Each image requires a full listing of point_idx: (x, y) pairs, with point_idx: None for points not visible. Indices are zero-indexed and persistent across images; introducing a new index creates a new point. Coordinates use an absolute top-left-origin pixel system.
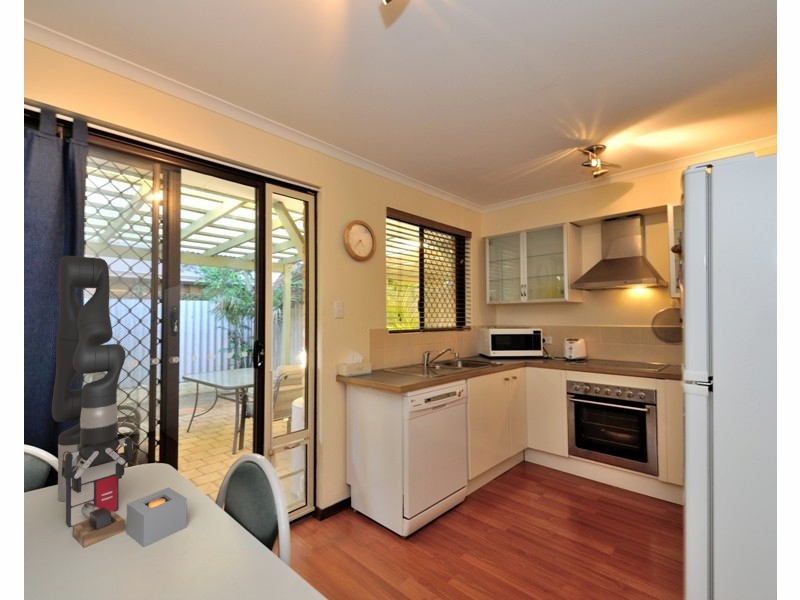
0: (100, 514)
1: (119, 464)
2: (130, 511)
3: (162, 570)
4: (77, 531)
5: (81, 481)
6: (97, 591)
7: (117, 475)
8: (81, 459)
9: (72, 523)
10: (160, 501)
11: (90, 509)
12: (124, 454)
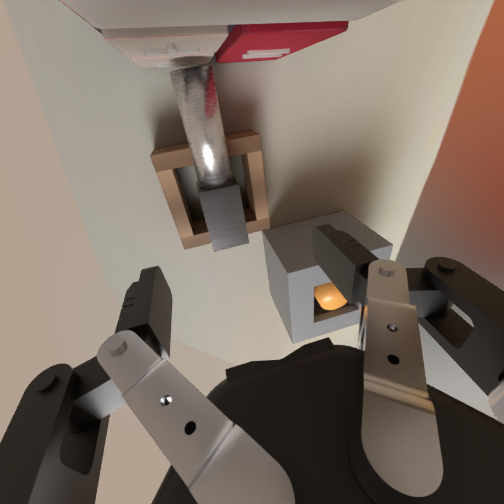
0: (224, 235)
1: (358, 300)
2: (283, 283)
3: (272, 345)
4: (167, 200)
5: (157, 21)
6: (202, 348)
7: (320, 253)
8: (155, 437)
9: (143, 67)
10: (341, 299)
11: (201, 155)
12: (440, 289)
